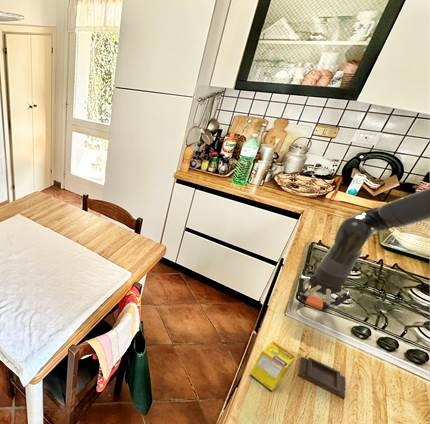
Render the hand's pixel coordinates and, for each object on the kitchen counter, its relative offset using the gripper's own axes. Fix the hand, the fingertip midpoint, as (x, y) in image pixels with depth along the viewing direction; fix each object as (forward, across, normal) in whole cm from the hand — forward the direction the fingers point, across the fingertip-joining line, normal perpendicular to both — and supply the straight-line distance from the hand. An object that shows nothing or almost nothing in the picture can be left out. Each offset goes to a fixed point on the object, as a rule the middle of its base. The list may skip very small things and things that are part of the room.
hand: (311, 305), depth 107 cm
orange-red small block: (0, 0, 0) cm, 0 cm away
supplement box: (+1, +8, +40) cm, 41 cm away
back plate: (0, -4, +30) cm, 30 cm away
